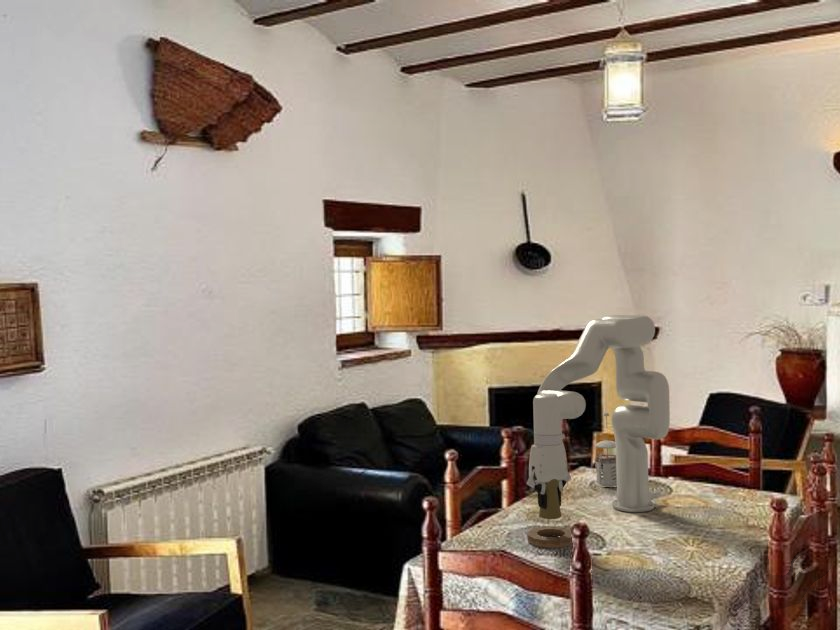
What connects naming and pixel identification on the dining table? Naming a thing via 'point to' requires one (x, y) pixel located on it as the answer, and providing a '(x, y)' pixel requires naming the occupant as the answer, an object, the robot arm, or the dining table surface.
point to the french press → (606, 464)
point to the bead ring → (550, 542)
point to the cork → (551, 501)
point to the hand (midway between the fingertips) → (549, 505)
